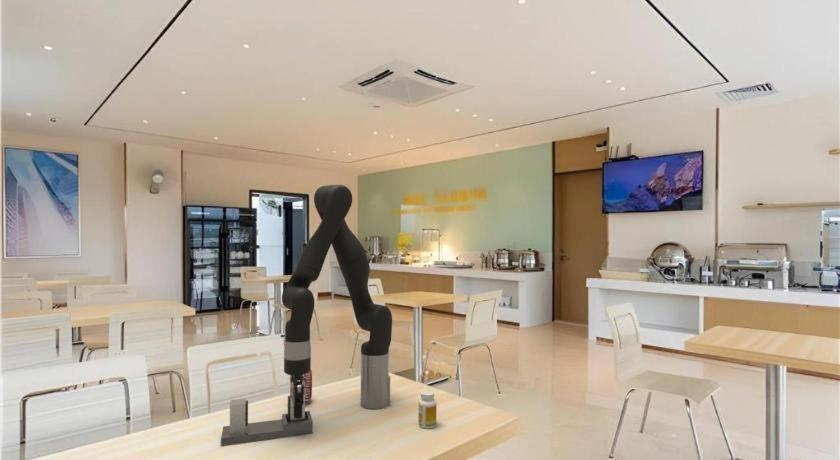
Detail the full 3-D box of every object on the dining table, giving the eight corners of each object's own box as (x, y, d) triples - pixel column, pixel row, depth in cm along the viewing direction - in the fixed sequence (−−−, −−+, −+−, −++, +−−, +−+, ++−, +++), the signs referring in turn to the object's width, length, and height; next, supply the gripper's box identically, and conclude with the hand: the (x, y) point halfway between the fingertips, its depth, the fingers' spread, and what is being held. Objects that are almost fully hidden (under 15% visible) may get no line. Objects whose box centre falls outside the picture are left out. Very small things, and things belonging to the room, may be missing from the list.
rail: (309, 422, 140) (309, 389, 140) (312, 433, 132) (312, 398, 132) (223, 433, 132) (223, 398, 132) (221, 446, 124) (221, 408, 124)
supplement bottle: (439, 423, 140) (439, 391, 140) (432, 430, 135) (432, 396, 135) (422, 420, 142) (423, 388, 142) (415, 426, 137) (415, 394, 137)
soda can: (314, 399, 159) (314, 364, 159) (307, 407, 152) (307, 370, 152) (294, 398, 159) (294, 363, 159) (286, 406, 152) (287, 369, 152)
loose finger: (303, 419, 137) (303, 392, 137) (304, 424, 134) (304, 396, 134) (287, 421, 136) (287, 393, 136) (288, 426, 132) (288, 398, 132)
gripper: (313, 361, 129) (313, 421, 129) (308, 348, 143) (307, 403, 143) (285, 363, 127) (285, 425, 127) (282, 350, 140) (282, 406, 140)
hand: (297, 413), depth 135 cm, fingers open, 5 cm apart
